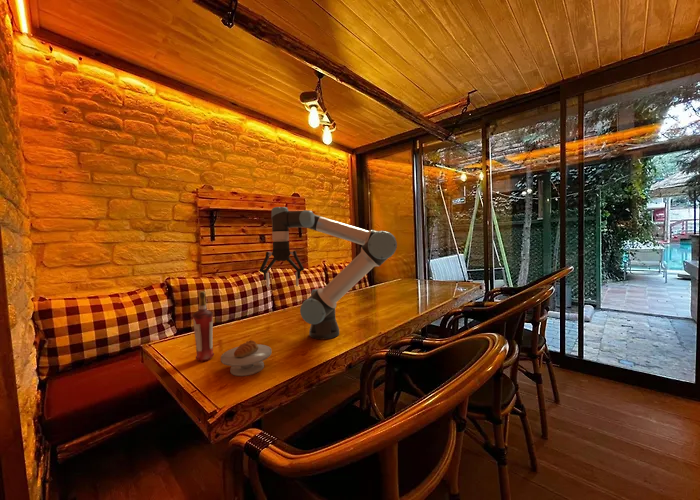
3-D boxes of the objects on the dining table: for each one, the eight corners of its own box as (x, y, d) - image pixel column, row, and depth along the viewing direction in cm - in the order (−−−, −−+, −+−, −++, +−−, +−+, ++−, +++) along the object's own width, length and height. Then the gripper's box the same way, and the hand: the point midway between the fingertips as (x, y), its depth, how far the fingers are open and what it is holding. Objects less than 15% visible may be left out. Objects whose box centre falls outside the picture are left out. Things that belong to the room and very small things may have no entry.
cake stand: (276, 357, 118) (276, 343, 118) (265, 379, 100) (264, 362, 100) (232, 359, 118) (231, 345, 117) (212, 381, 100) (211, 364, 100)
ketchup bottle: (193, 358, 120) (190, 291, 119) (212, 353, 125) (209, 289, 123) (196, 364, 114) (193, 294, 113) (216, 359, 119) (213, 291, 118)
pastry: (244, 359, 103) (244, 349, 102) (228, 358, 104) (228, 348, 104) (259, 349, 112) (259, 340, 111) (244, 348, 113) (244, 339, 113)
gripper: (308, 240, 137) (310, 284, 138) (256, 241, 137) (258, 286, 138) (306, 240, 130) (308, 286, 131) (251, 241, 129) (253, 288, 130)
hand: (282, 286), depth 134 cm, fingers open, 13 cm apart
